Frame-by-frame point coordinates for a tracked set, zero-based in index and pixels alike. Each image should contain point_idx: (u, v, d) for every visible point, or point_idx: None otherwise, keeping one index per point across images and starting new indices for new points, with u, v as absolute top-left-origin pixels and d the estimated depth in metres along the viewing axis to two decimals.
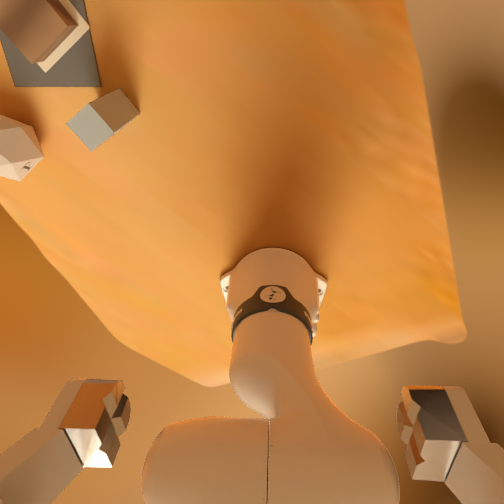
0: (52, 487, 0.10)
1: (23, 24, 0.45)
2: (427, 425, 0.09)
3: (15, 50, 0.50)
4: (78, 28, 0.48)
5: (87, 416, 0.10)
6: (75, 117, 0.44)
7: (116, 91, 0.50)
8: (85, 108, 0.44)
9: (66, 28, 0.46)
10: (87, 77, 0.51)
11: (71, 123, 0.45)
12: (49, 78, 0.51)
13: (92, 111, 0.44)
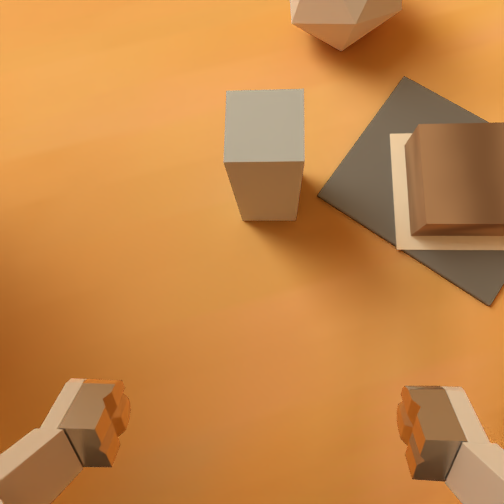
0: (52, 487, 0.10)
1: (471, 161, 0.25)
2: (427, 425, 0.09)
3: (442, 119, 0.29)
4: (407, 231, 0.27)
5: (87, 416, 0.10)
6: (300, 115, 0.19)
7: (293, 213, 0.27)
8: (300, 147, 0.19)
9: (423, 217, 0.25)
10: (341, 186, 0.28)
11: (296, 97, 0.19)
12: (379, 132, 0.29)
13: (286, 154, 0.19)
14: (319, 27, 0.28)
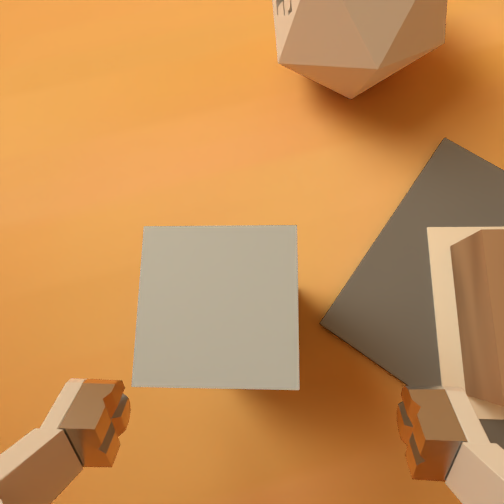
0: (52, 487, 0.10)
1: None
2: (427, 425, 0.09)
3: None
4: None
5: (87, 416, 0.10)
6: (290, 283, 0.09)
7: None
8: (290, 357, 0.09)
9: (497, 390, 0.15)
10: (356, 310, 0.19)
11: (281, 243, 0.10)
12: (411, 224, 0.19)
13: (261, 373, 0.09)
14: (320, 70, 0.18)
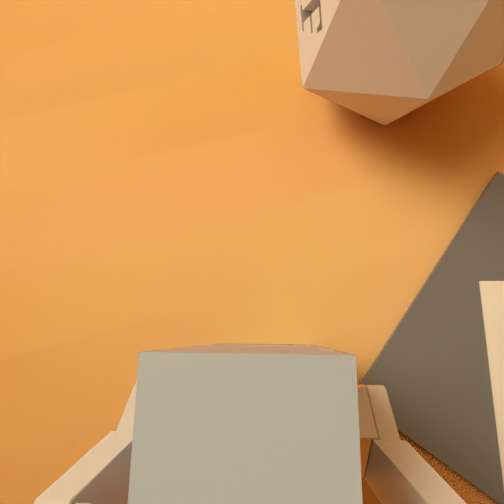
0: (128, 490, 0.10)
1: None
2: None
3: None
4: None
5: None
6: (348, 445, 0.07)
7: None
8: None
9: None
10: (396, 381, 0.16)
11: (334, 383, 0.07)
12: (460, 277, 0.16)
13: None
14: (353, 96, 0.16)
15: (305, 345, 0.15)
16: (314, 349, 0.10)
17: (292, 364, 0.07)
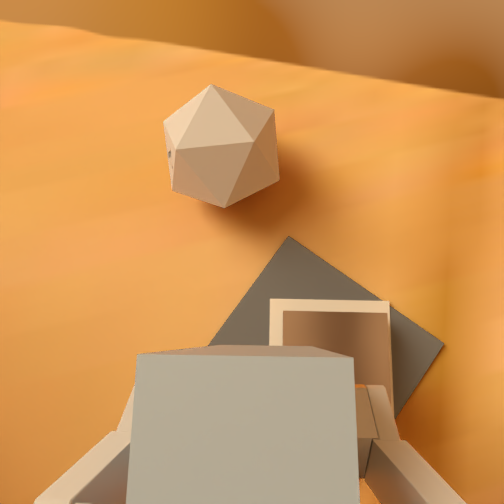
0: None
1: None
2: None
3: (322, 284, 0.29)
4: None
5: None
6: (346, 448, 0.07)
7: None
8: None
9: None
10: None
11: (332, 386, 0.07)
12: (260, 296, 0.30)
13: None
14: None
15: None
16: (312, 351, 0.10)
17: (290, 366, 0.07)
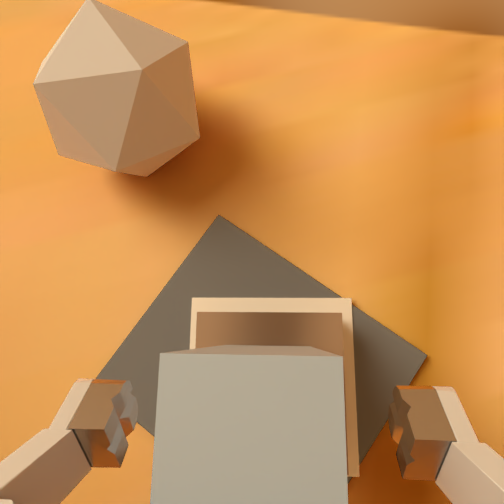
0: (61, 487, 0.10)
1: None
2: (417, 425, 0.09)
3: (261, 277, 0.22)
4: None
5: (96, 416, 0.10)
6: (336, 432, 0.08)
7: None
8: None
9: None
10: (123, 372, 0.21)
11: (324, 380, 0.08)
12: (179, 294, 0.22)
13: None
14: None
15: None
16: None
17: (289, 364, 0.08)
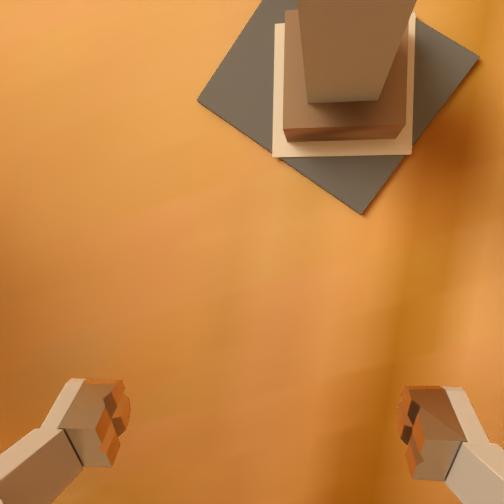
0: (52, 487, 0.10)
1: None
2: (427, 425, 0.09)
3: None
4: (284, 137, 0.26)
5: (87, 416, 0.10)
6: None
7: (378, 87, 0.20)
8: None
9: (283, 121, 0.23)
10: (221, 89, 0.27)
11: None
12: (264, 23, 0.26)
13: None
14: None
15: None
16: None
17: None
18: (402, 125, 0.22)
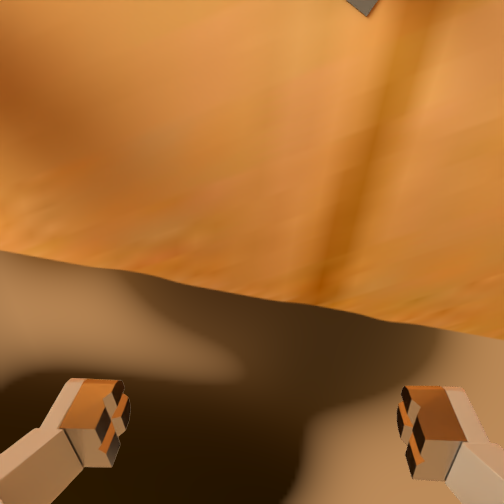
0: (52, 487, 0.10)
1: None
2: (427, 425, 0.09)
3: None
4: None
5: (87, 416, 0.10)
6: None
7: None
8: None
9: None
10: None
11: None
12: None
13: None
14: None
15: None
16: None
17: None
18: None
